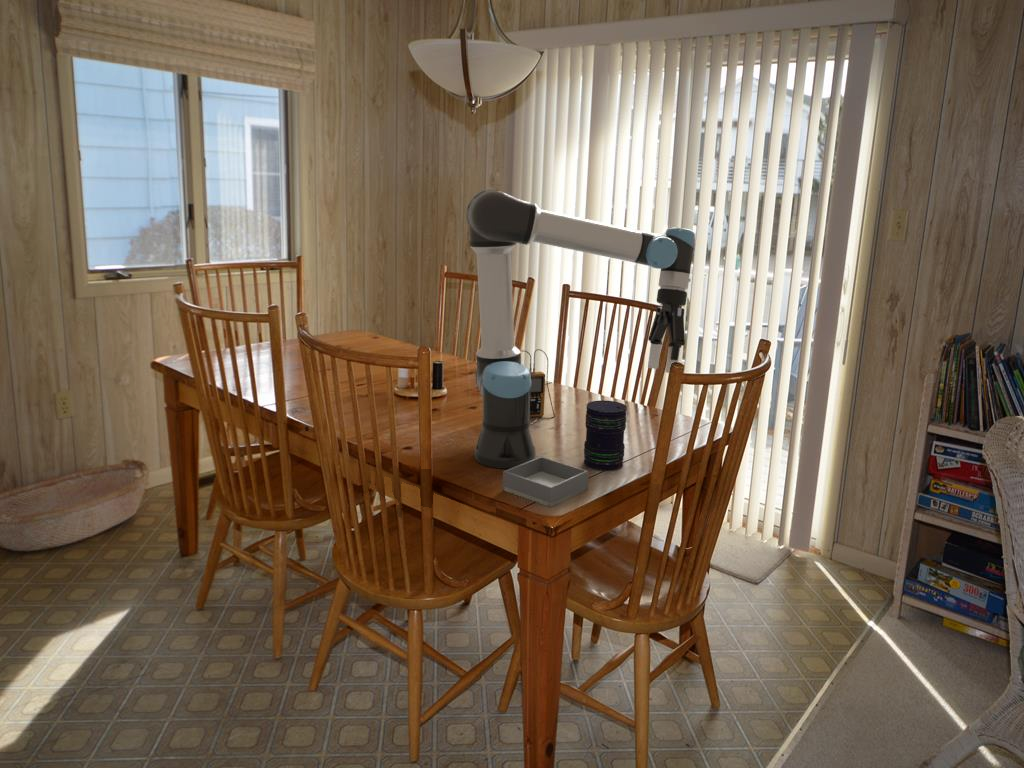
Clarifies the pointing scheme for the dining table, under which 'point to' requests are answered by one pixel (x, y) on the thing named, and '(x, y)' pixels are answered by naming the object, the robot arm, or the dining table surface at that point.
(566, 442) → the dining table surface
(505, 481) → the cradle tray
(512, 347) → the robot arm
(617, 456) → the dark blue ribbed cylinder
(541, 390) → the multimeter
